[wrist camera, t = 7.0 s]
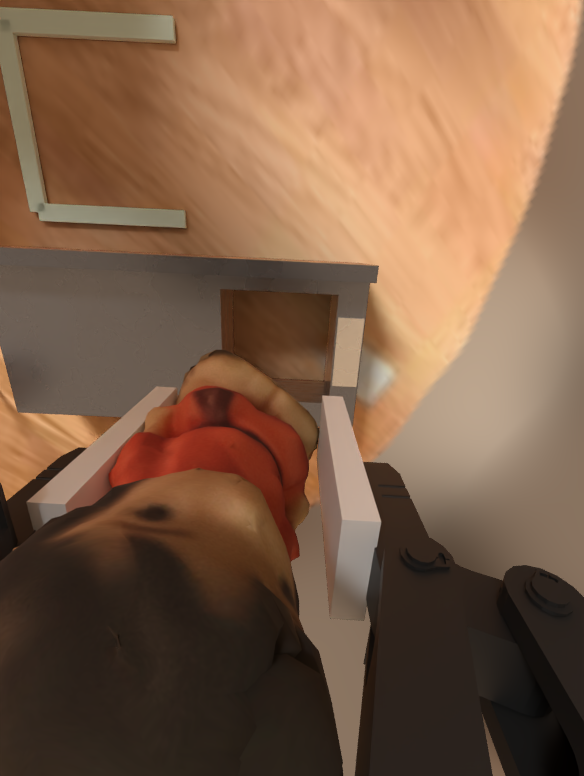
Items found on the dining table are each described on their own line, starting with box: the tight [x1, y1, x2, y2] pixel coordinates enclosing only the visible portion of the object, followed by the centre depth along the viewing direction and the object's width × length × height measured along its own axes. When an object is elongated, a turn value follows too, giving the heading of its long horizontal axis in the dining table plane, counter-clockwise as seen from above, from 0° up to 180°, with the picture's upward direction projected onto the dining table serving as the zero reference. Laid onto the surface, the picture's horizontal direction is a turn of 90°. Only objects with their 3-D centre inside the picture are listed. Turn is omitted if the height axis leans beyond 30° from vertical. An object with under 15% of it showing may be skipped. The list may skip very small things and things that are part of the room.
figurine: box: [0, 350, 343, 776], centre depth 8 cm, size 6×6×12 cm
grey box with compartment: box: [0, 246, 379, 427], centre depth 26 cm, size 26×12×7 cm, turn 87°
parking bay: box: [0, 7, 187, 228], centre depth 24 cm, size 12×12×1 cm
